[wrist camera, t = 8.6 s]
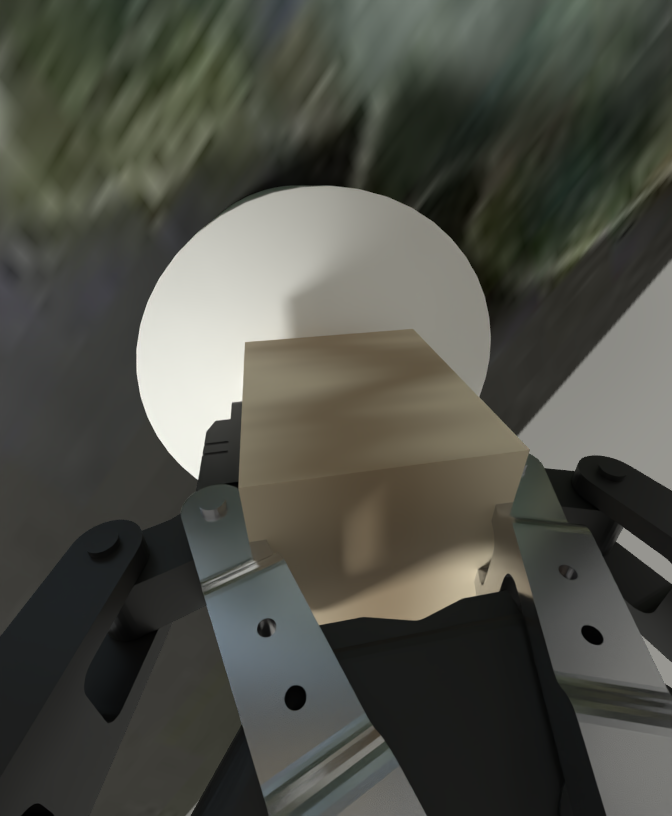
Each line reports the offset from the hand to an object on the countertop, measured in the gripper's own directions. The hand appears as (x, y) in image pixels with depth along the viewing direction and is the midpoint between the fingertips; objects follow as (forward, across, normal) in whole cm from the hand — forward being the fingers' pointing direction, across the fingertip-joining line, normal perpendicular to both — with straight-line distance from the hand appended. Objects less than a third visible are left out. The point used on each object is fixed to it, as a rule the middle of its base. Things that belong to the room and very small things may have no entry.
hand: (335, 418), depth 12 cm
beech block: (+1, 0, 0) cm, 1 cm away
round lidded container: (+9, 0, 0) cm, 9 cm away
